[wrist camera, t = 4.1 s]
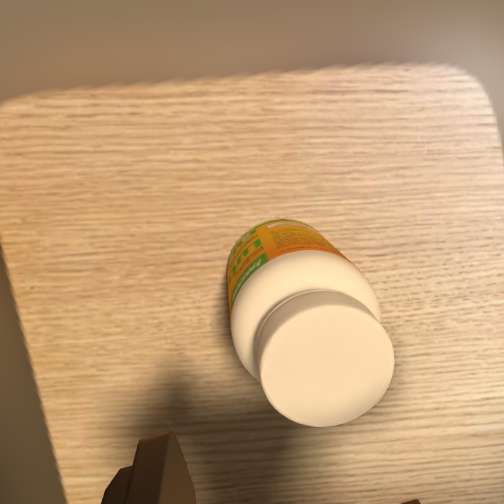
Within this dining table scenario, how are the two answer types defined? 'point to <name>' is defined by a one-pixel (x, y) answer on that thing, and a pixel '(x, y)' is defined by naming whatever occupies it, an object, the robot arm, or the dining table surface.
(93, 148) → the dining table surface
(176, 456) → the robot arm
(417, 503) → the wooden divided tray
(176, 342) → the dining table surface
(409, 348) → the dining table surface
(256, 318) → the supplement bottle
